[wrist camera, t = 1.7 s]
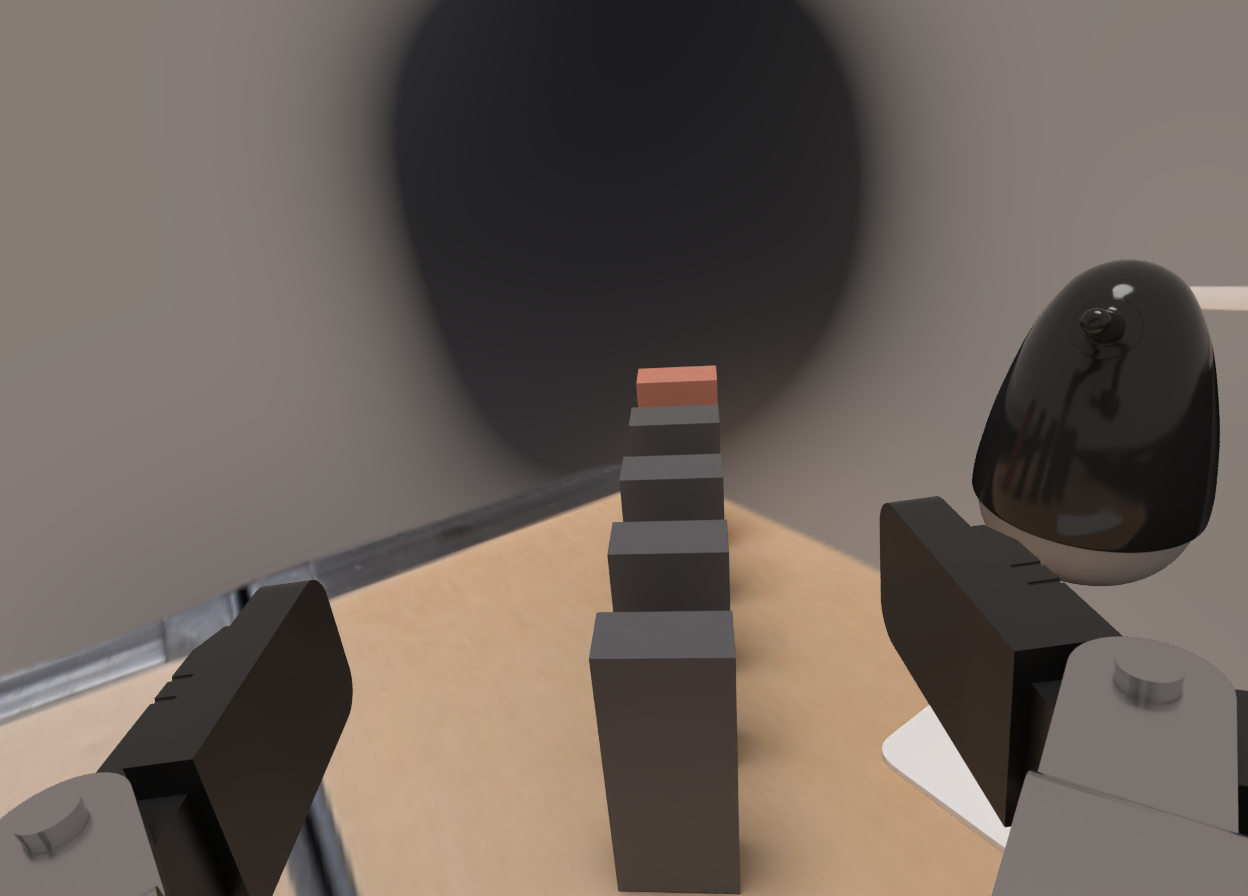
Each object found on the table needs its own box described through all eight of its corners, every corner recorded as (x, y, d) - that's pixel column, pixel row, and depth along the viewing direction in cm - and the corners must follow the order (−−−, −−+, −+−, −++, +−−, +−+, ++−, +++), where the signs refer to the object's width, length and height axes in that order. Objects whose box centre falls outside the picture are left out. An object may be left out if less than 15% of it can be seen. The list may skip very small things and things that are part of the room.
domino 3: (728, 676, 35) (723, 477, 30) (637, 676, 35) (619, 480, 31) (726, 645, 36) (721, 453, 32) (640, 646, 37) (623, 456, 32)
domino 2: (724, 605, 39) (719, 422, 35) (643, 606, 39) (628, 425, 35) (722, 580, 41) (717, 404, 36) (645, 582, 41) (631, 407, 37)
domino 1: (720, 548, 43) (716, 380, 39) (648, 549, 44) (636, 383, 39) (719, 528, 45) (715, 365, 41) (650, 530, 46) (638, 368, 41)
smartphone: (981, 663, 34) (1466, 935, 23) (979, 676, 34) (1455, 951, 23) (870, 750, 30) (1381, 1126, 19) (869, 764, 30) (1371, 1142, 19)
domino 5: (739, 893, 26) (735, 657, 21) (618, 891, 26) (589, 659, 22) (736, 839, 27) (731, 610, 23) (623, 837, 28) (596, 612, 23)
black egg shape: (930, 569, 40) (965, 276, 34) (1002, 486, 47) (1044, 227, 40) (1162, 651, 34) (1264, 309, 27) (1208, 541, 41) (1298, 245, 34)
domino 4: (733, 769, 30) (729, 552, 26) (629, 768, 31) (607, 554, 26) (730, 729, 32) (726, 519, 27) (632, 728, 32) (612, 522, 28)
